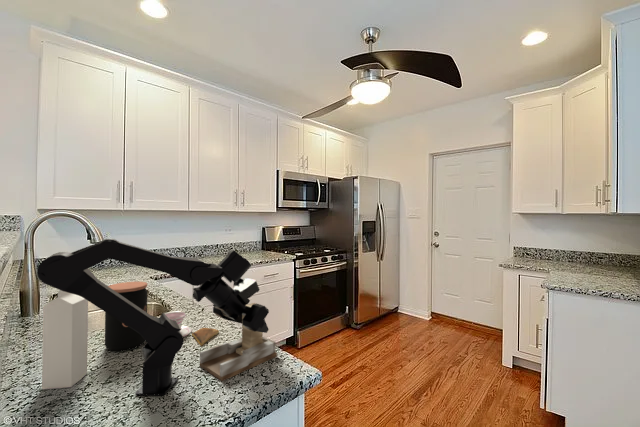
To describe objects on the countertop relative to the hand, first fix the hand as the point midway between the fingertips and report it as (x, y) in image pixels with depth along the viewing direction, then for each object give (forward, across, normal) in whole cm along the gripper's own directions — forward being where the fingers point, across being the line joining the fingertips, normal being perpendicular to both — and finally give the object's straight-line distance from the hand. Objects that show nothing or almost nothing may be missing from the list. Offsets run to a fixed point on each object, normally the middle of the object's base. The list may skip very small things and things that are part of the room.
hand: (257, 326), depth 85 cm
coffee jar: (-10, +34, +22) cm, 42 cm away
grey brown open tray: (+1, 0, +9) cm, 9 cm away
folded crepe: (+4, +22, +8) cm, 23 cm away
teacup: (-1, +33, +12) cm, 35 cm away
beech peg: (+4, 0, +6) cm, 7 cm away
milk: (-22, +22, +33) cm, 45 cm away
